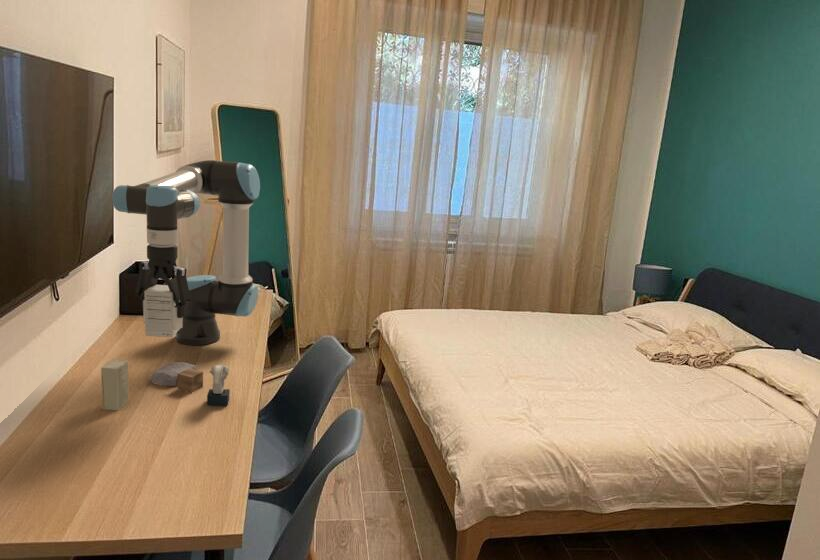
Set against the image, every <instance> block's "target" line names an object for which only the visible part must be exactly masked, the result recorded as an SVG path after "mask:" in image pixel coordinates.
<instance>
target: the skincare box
mask: <svg viewBox="0 0 820 560" xmlns="http://www.w3.org/2000/svg"><path fill="white" fill-rule="evenodd" d="M100 368H101V369H100V372H101V373H100V374H101V375H100V376H101V406H102V407H101V409H102V410H108V411H120V410H121V409H122V408H123V407H124V406H125V405H126V404H127V403H129V400H130V399H129V360H123V359H113V358H112V359H111V360H109V361H108V362H107V363H106V364H104V365H102V366H101V367H100Z"/></svg>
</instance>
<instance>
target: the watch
mask: <svg viewBox="0 0 820 560" xmlns="http://www.w3.org/2000/svg"><path fill="white" fill-rule="evenodd" d="M229 372H230V369H229V367H228V366H227V365H224V364H215V365H213V366H212V367H211V369H210V370H209V373H210V374H211V375H212V377H213V379H212V381H213V382H212V388H209V389H208V392H207V394H206V395H207V396H206V407H222V406H223V407H228V406H229V403H228V402H229V401H230V391H231V390H230V388H228V389H227V388H226V389H225V388H224V387H225V380H227V377H228V375H229ZM227 405H228V406H227Z"/></svg>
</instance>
